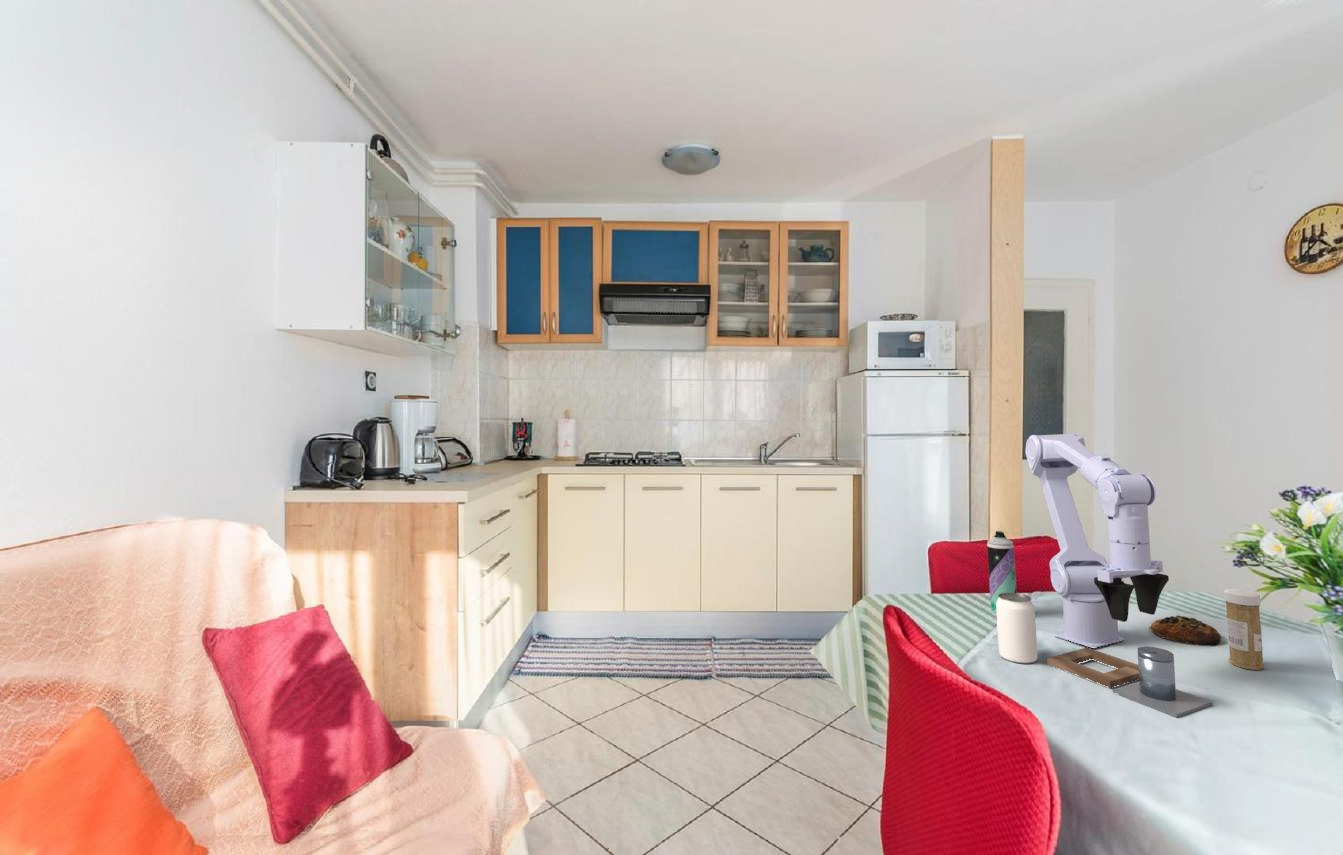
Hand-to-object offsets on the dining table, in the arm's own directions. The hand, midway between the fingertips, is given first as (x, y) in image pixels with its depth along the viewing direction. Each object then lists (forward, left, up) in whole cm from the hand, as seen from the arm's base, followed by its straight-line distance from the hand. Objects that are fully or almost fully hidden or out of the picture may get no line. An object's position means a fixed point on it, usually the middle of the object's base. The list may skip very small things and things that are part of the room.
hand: (1133, 616), depth 99 cm
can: (+11, -14, -11) cm, 21 cm away
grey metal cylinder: (+6, +6, -10) cm, 13 cm away
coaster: (+6, +7, -10) cm, 14 cm away
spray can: (-7, -32, -11) cm, 34 cm away
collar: (+4, -4, -10) cm, 12 cm away
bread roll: (-27, -7, -11) cm, 30 cm away
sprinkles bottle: (-20, +6, -11) cm, 23 cm away
